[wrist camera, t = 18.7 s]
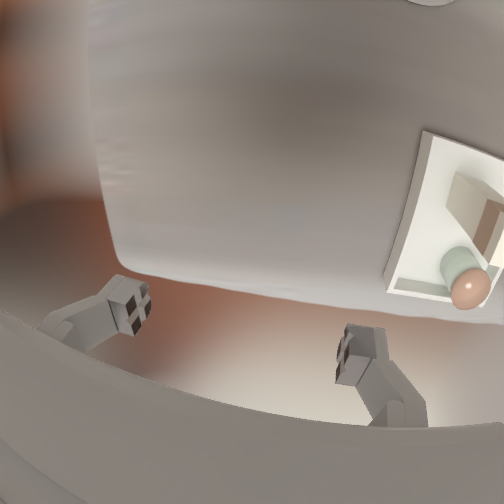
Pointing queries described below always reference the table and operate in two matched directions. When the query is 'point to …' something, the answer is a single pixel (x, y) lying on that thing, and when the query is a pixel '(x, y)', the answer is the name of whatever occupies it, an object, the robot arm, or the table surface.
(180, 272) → the table surface
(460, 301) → the lidded jar
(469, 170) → the tray
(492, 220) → the juice carton
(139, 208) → the table surface
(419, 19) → the table surface
